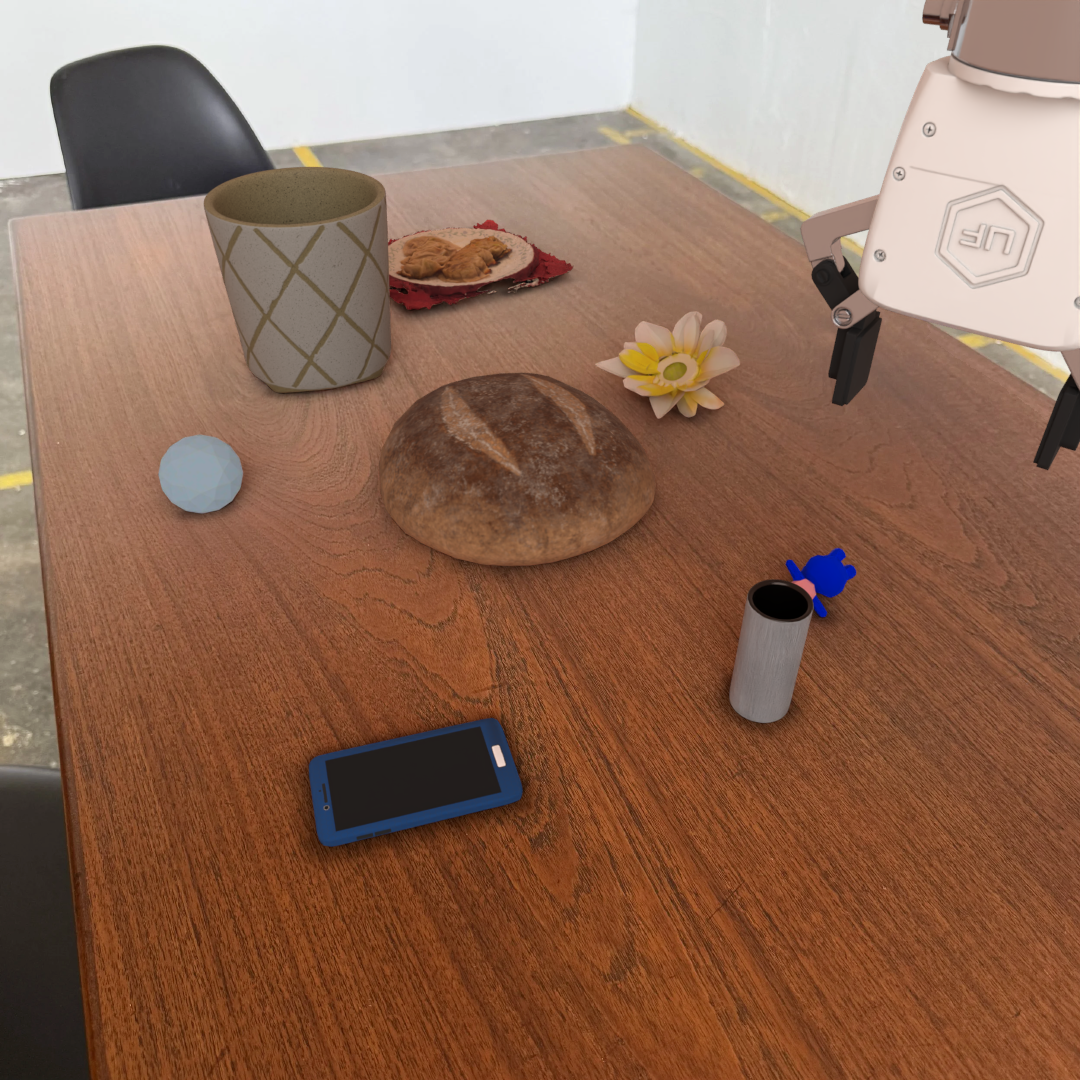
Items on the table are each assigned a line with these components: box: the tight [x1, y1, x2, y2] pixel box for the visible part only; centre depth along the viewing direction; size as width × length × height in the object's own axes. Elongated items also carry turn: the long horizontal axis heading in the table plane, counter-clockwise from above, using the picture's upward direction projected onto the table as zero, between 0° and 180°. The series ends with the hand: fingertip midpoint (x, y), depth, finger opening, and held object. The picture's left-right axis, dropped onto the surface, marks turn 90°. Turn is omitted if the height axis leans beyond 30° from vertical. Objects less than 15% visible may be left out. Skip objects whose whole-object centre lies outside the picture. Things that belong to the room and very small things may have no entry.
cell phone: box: [308, 717, 524, 847], centre depth 67 cm, size 7×14×1 cm, turn 107°
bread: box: [378, 372, 657, 567], centre depth 91 cm, size 26×27×10 cm
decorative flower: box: [595, 310, 741, 419], centre depth 106 cm, size 15×11×10 cm
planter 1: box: [203, 166, 392, 394], centre depth 109 cm, size 19×19×20 cm
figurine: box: [784, 547, 857, 618], centre depth 80 cm, size 5×8×5 cm, turn 133°
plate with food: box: [388, 219, 574, 311], centre depth 137 cm, size 24×26×3 cm
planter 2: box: [728, 578, 814, 724], centre depth 70 cm, size 4×4×10 cm
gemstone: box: [157, 434, 244, 514], centre depth 93 cm, size 8×8×5 cm
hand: (943, 423), depth 47 cm, fingers open, 9 cm apart
